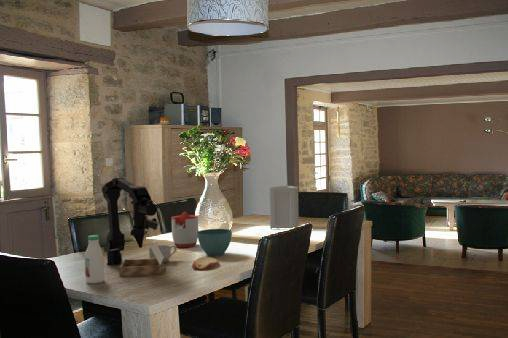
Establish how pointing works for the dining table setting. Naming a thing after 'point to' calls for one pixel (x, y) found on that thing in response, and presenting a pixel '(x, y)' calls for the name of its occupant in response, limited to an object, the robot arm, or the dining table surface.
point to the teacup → (163, 252)
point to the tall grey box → (283, 207)
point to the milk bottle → (94, 261)
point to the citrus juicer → (185, 230)
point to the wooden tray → (140, 267)
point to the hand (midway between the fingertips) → (140, 247)
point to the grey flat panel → (157, 252)
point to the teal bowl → (214, 241)
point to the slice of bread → (205, 263)
